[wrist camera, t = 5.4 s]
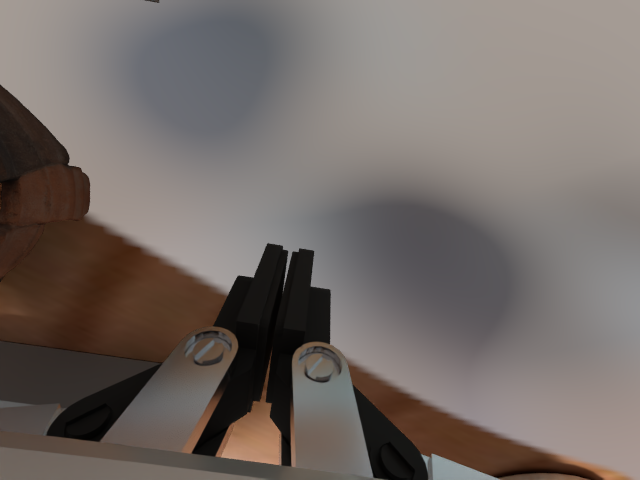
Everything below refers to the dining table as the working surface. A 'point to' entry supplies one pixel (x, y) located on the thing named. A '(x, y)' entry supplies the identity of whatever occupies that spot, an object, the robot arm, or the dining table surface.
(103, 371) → the bay
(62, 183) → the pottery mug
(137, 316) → the dining table surface
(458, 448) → the dining table surface
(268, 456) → the dining table surface
